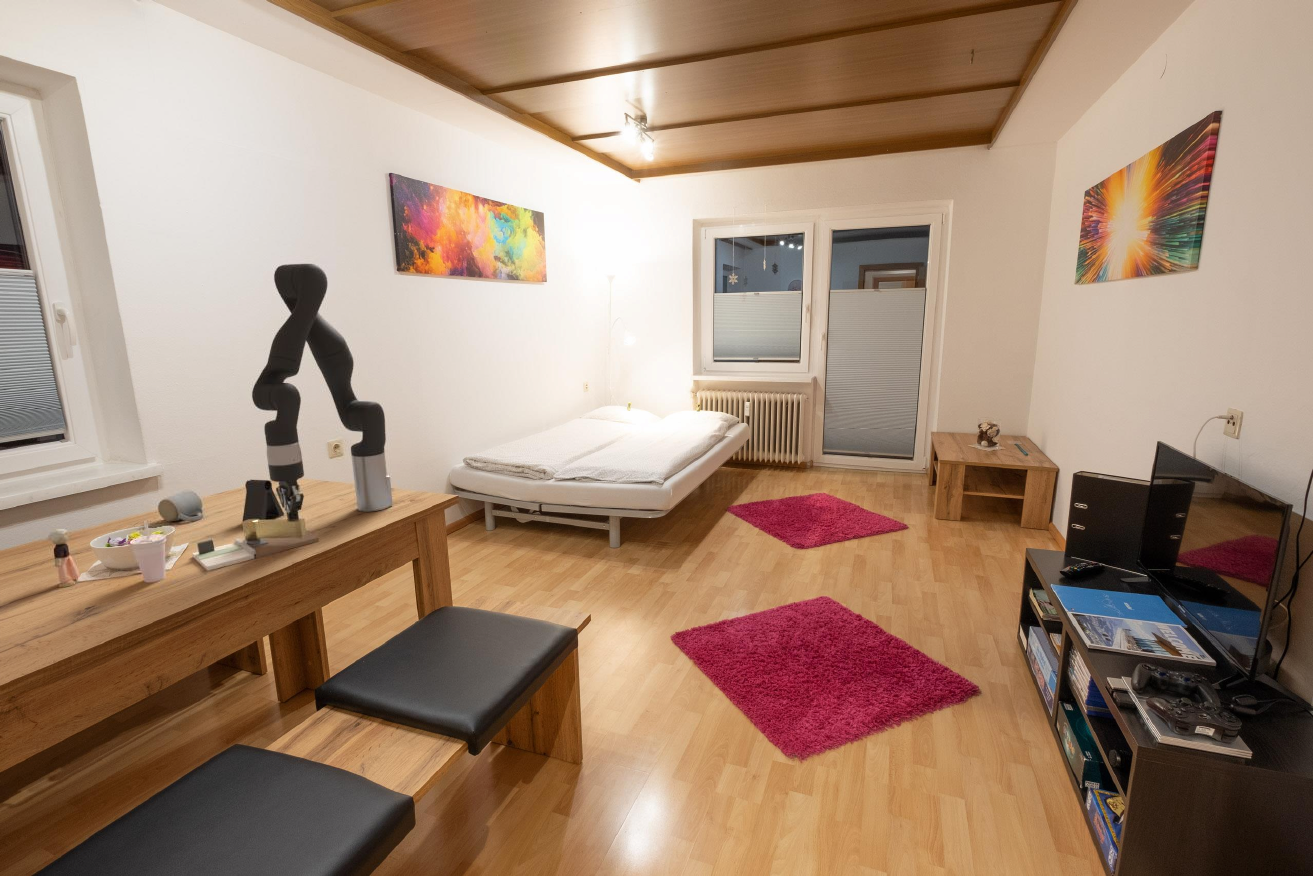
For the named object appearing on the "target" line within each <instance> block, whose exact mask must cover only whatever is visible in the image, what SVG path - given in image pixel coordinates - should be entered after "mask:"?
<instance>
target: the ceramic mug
mask: <svg viewBox="0 0 1313 876" xmlns="http://www.w3.org/2000/svg"><path fill="white" fill-rule="evenodd" d="M157 510H158V513H159V516H161V518H162V519H164V520H165V521H167V522H170V523H172V522H177V521H185V522H196V521H199V520H201V519H203V517H204V513H205V512H204V509H203V502H202V499H201V498H200V496H199V495H198V494H197V493H196V492H195V491H194V490H191V489H187V490H183V491H181V492H178V493H176V494H174V495H170V496H168V497H165V498H163V499H162V500H160V502H159V503H158V505H157Z"/></svg>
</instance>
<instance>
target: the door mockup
mask: <svg viewBox="0 0 1313 876" xmlns="http://www.w3.org/2000/svg"><path fill="white" fill-rule="evenodd" d="M306 533H307V535H306V536H305V537H303V538H260V539H257V540H251V541H246V540H245V539H244V540H242V539H241V538H239V537H236V538H234V540H235V542H232V543H227V544H224V545H220V546H214V540H213V539H208V540H204V541H200V542H197V549H198V551H195V552H191V554H192V558H193V559H194V560H196V561H197V562H198V563H199V565H201V566H202V567H203V568H204V569H205V570H206V571H212V570H216V569H220V568H223V567H227V566H231V565H235V564H239V563H242V562H243V563H244V562H245V561H250V560H253V559H255V558H256V559H257V558H261V557H265V556H268V555H272V554H276V553H279V552H280V553H281V552H283V551H287V550H290V549H293V548H298V547H301V546H305V545H309V544H313V543H317V542H320V540H319V539H320V538H319V537H318V536H317V535H315V534H313V533H311V532H310V531H308V530H306Z"/></svg>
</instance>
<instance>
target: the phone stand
mask: <svg viewBox="0 0 1313 876" xmlns="http://www.w3.org/2000/svg"><path fill="white" fill-rule="evenodd" d="M245 490H246V491H245V492H246V493H245V501H244V506H243V515H242V521H241V523H242V522H243V521H245V520H249V519H259V520H278V519H279V518H281V517H283V516H285V513H284V511H283V507H282V505H280V504H281V503H280V502H279V500H278V499H277V497H276V494H275V492H274V490H273V483H272V480H270V479H269V480H267V479H266V480H265V479H249V480H247V481H245Z"/></svg>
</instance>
